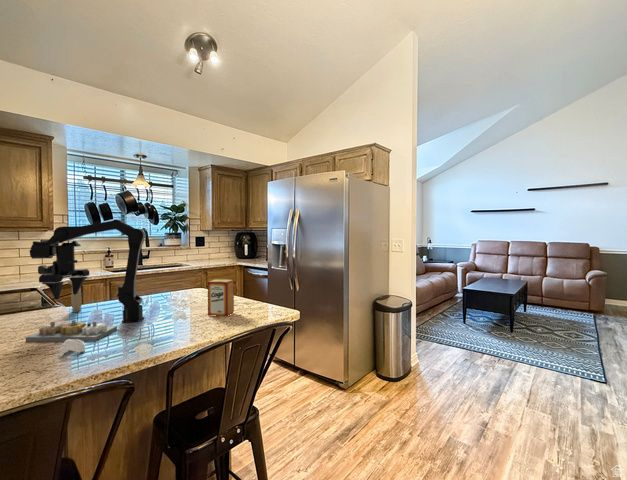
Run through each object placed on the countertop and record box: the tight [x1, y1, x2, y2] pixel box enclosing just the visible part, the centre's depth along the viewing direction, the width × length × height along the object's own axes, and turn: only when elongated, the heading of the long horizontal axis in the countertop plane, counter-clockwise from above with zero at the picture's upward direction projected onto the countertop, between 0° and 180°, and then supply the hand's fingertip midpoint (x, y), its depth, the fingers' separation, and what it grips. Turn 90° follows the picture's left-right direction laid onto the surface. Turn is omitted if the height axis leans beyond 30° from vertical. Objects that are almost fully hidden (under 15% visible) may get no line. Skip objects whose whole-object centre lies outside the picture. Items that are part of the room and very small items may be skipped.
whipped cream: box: [58, 339, 86, 358], centre depth 97 cm, size 8×7×5 cm
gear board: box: [25, 319, 118, 343], centre depth 113 cm, size 24×12×6 cm, turn 91°
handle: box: [67, 279, 83, 312], centre depth 147 cm, size 5×6×15 cm
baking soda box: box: [207, 279, 235, 317], centre depth 141 cm, size 10×6×16 cm
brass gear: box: [61, 321, 87, 335], centre depth 113 cm, size 7×7×2 cm
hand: (66, 296), depth 123 cm, fingers open, 9 cm apart
